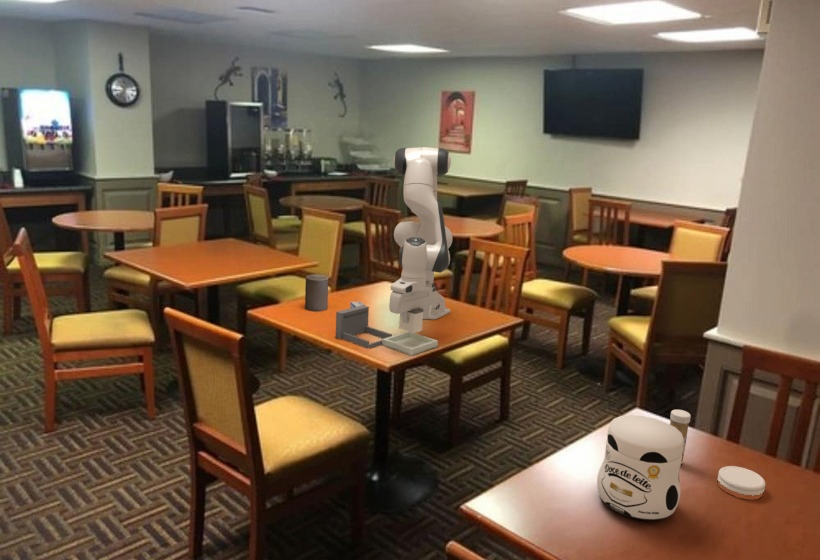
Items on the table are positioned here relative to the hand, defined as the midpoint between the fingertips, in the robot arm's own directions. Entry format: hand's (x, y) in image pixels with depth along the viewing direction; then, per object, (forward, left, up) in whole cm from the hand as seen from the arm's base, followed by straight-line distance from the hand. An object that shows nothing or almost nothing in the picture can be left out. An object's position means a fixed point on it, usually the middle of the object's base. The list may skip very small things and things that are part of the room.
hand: (410, 321), depth 239 cm
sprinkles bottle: (+15, +101, -10) cm, 103 cm away
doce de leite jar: (+41, +102, -10) cm, 110 cm away
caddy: (0, 0, -3) cm, 3 cm away
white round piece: (+16, +117, -10) cm, 118 cm away
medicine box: (-3, -30, -10) cm, 32 cm away
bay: (+7, -16, -10) cm, 20 cm away
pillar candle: (-6, -58, -10) cm, 59 cm away
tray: (0, 0, -10) cm, 10 cm away
